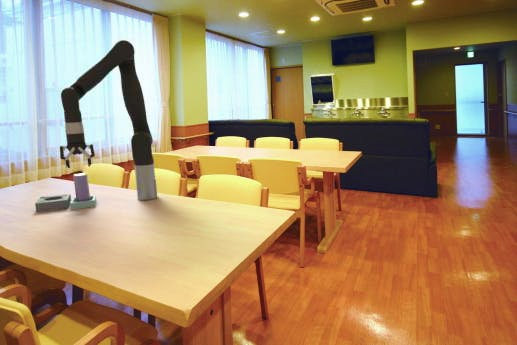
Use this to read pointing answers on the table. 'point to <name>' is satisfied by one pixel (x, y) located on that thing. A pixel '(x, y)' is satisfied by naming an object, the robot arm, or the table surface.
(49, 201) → the port
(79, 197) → the beverage can
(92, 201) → the teal square frame
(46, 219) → the table surface
